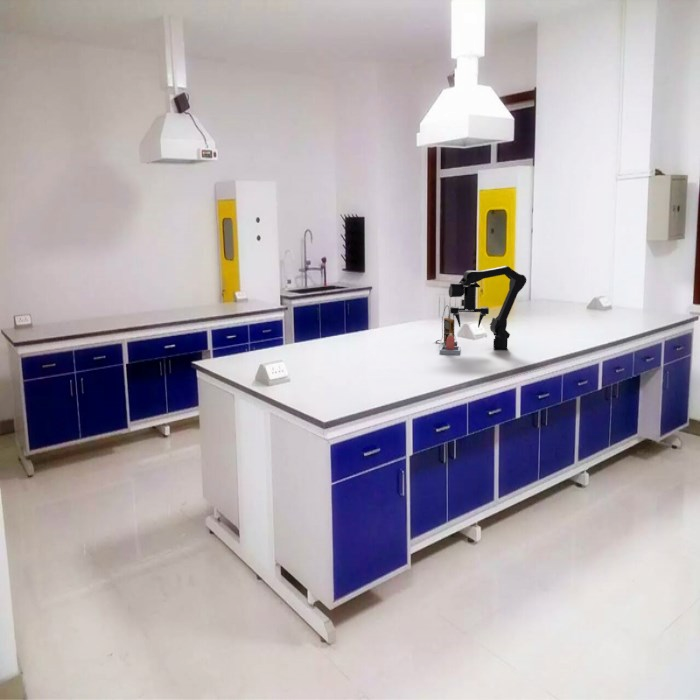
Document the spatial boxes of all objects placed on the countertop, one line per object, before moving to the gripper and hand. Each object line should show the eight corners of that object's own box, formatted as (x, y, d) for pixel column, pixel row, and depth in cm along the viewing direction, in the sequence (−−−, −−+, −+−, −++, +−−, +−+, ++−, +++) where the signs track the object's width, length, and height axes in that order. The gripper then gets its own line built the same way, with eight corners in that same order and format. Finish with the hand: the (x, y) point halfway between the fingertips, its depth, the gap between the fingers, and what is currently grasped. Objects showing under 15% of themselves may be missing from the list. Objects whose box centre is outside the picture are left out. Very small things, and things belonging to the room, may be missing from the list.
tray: (460, 350, 321) (460, 346, 321) (459, 354, 312) (460, 350, 311) (440, 349, 323) (440, 345, 323) (439, 354, 314) (439, 350, 313)
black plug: (457, 347, 327) (457, 340, 326) (456, 349, 324) (456, 343, 322) (442, 346, 328) (442, 340, 327) (442, 349, 325) (442, 343, 324)
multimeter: (428, 341, 343) (428, 305, 338) (445, 340, 346) (445, 303, 341) (440, 347, 329) (440, 309, 325) (457, 345, 332) (458, 307, 328)
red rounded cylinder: (454, 350, 319) (455, 332, 317) (453, 352, 315) (454, 334, 313) (446, 349, 320) (447, 332, 318) (445, 351, 316) (446, 334, 314)
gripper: (489, 294, 320) (488, 324, 323) (451, 294, 324) (451, 323, 327) (489, 297, 309) (488, 328, 313) (450, 297, 313) (450, 328, 317)
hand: (469, 327), depth 318 cm, fingers open, 9 cm apart
